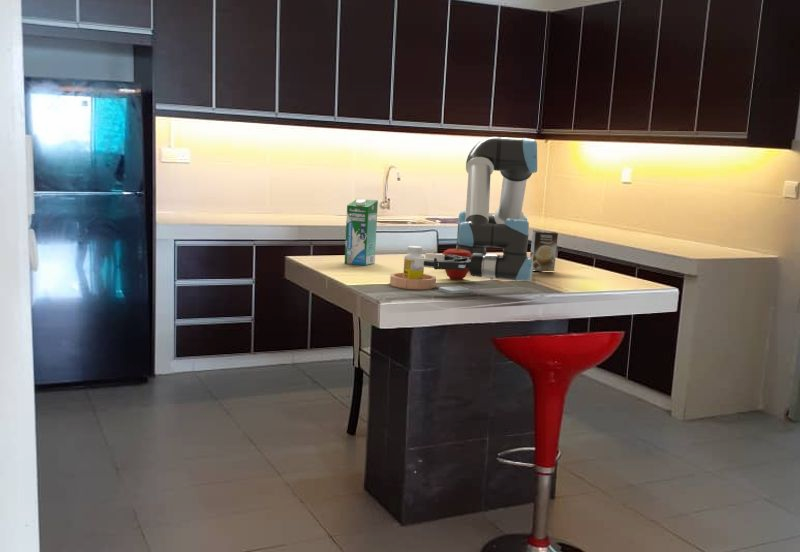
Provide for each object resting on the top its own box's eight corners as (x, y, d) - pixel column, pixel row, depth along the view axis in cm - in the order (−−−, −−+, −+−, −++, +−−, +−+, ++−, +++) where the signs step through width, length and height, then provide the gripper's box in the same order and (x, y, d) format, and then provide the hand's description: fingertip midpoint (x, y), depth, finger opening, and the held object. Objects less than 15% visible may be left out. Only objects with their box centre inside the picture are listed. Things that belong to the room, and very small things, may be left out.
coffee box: (531, 272, 306) (535, 231, 304) (528, 269, 312) (531, 230, 310) (554, 273, 306) (558, 233, 304) (551, 270, 313) (554, 231, 310)
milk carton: (344, 263, 301) (347, 199, 297) (354, 260, 310) (357, 198, 306) (365, 265, 298) (368, 200, 294) (374, 263, 306) (378, 200, 302)
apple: (435, 277, 278) (437, 244, 276) (461, 277, 282) (464, 244, 280) (449, 283, 268) (451, 248, 266) (476, 282, 272) (478, 248, 270)
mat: (461, 289, 256) (462, 288, 256) (477, 294, 248) (477, 293, 248) (431, 291, 250) (431, 289, 250) (445, 296, 242) (446, 294, 242)
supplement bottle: (402, 283, 259) (404, 245, 257) (421, 283, 260) (423, 245, 258) (403, 286, 252) (405, 247, 251) (423, 287, 253) (426, 248, 251)
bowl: (420, 282, 266) (421, 272, 266) (443, 290, 253) (444, 279, 253) (382, 283, 259) (382, 273, 258) (404, 291, 246) (404, 280, 246)
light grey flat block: (457, 288, 254) (457, 285, 254) (470, 292, 249) (470, 289, 249) (438, 290, 249) (438, 287, 249) (451, 293, 244) (451, 290, 244)
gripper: (475, 282, 237) (409, 275, 243) (489, 272, 261) (429, 266, 266) (477, 258, 236) (410, 252, 242) (491, 249, 259) (430, 244, 265)
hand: (420, 259), depth 254 cm, fingers open, 13 cm apart
